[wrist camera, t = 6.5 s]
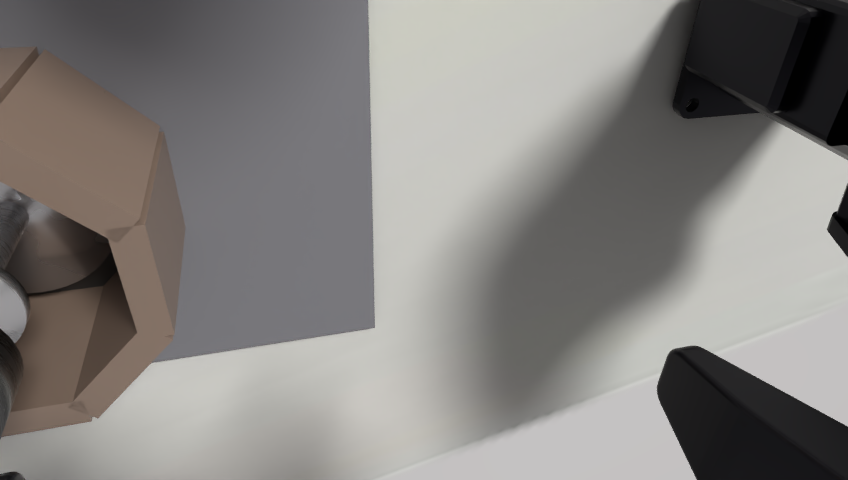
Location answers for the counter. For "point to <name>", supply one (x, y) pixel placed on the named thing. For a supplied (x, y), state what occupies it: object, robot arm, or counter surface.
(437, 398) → the counter surface
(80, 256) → the silver stemmed round piece
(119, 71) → the mat
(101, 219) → the brown octagonal ring
